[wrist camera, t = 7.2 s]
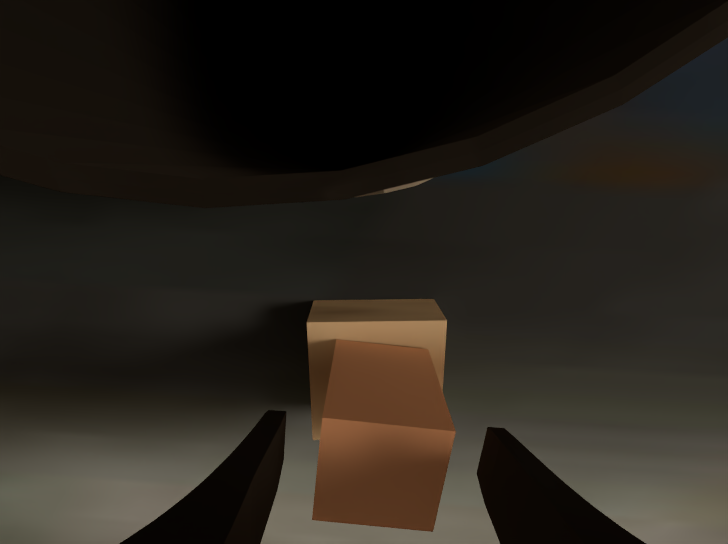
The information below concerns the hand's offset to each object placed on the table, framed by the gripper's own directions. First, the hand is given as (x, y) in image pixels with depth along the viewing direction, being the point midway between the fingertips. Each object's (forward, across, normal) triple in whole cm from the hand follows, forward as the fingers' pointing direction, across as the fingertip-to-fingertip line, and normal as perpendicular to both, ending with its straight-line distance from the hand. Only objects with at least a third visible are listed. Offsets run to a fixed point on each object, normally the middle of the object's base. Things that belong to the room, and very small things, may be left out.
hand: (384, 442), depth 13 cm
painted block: (+3, 0, 0) cm, 4 cm away
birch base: (+7, 0, 0) cm, 7 cm away
